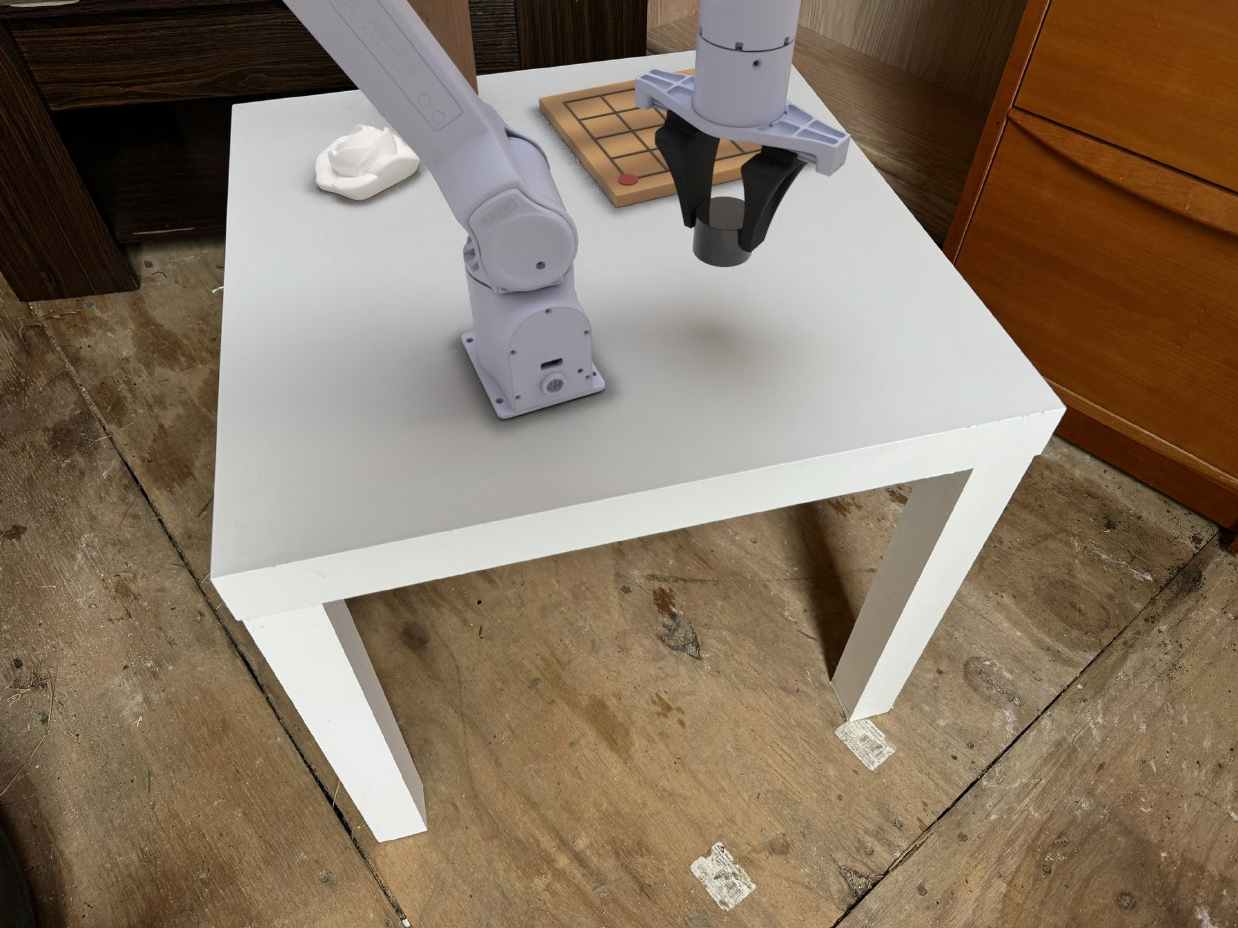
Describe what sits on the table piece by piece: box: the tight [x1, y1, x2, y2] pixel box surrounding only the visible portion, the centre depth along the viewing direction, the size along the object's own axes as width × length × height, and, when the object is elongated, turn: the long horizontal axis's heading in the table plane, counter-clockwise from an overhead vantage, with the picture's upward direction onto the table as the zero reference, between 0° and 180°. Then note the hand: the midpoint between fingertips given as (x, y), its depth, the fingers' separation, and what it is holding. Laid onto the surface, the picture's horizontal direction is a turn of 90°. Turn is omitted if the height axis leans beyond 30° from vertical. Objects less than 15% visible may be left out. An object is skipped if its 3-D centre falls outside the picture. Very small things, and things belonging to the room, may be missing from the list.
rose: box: [314, 123, 421, 201], centre depth 80 cm, size 10×4×10 cm
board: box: [538, 67, 762, 208], centre depth 87 cm, size 20×20×1 cm
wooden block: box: [407, 0, 480, 98], centre depth 84 cm, size 9×4×18 cm, turn 56°
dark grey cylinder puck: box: [692, 195, 753, 268], centre depth 61 cm, size 4×4×3 cm
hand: (724, 233), depth 61 cm, fingers closed on dark grey cylinder puck, 4 cm apart
